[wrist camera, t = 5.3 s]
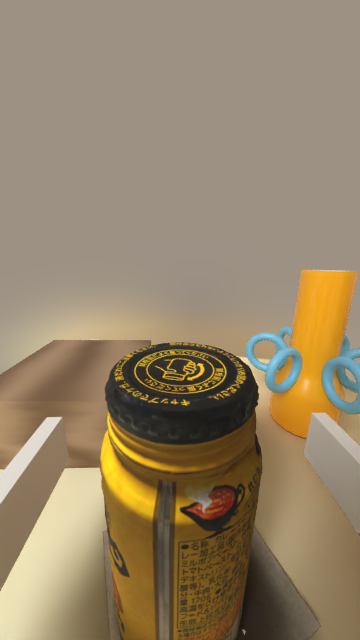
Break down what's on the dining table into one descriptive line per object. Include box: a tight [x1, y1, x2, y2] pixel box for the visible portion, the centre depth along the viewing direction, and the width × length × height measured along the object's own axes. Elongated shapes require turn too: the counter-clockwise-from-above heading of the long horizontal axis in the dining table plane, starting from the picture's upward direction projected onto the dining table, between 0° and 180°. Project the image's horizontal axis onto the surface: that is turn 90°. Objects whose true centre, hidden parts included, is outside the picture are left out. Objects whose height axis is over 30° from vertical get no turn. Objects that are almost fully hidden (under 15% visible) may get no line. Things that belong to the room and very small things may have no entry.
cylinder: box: [246, 270, 360, 439], centre depth 20 cm, size 12×10×15 cm
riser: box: [0, 340, 151, 469], centre depth 21 cm, size 12×12×6 cm
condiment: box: [100, 343, 321, 640], centre depth 9 cm, size 7×8×12 cm
